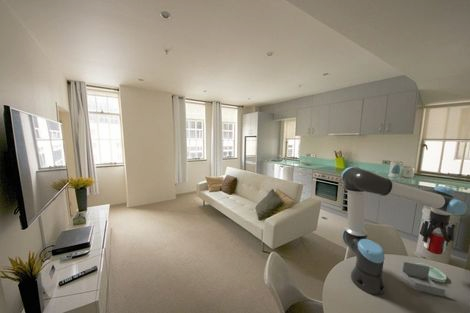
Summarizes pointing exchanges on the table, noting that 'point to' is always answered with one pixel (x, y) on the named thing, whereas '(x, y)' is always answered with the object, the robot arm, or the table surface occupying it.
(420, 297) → the table surface
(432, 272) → the tray
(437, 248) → the beverage can
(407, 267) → the bay
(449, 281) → the table surface
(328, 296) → the table surface
